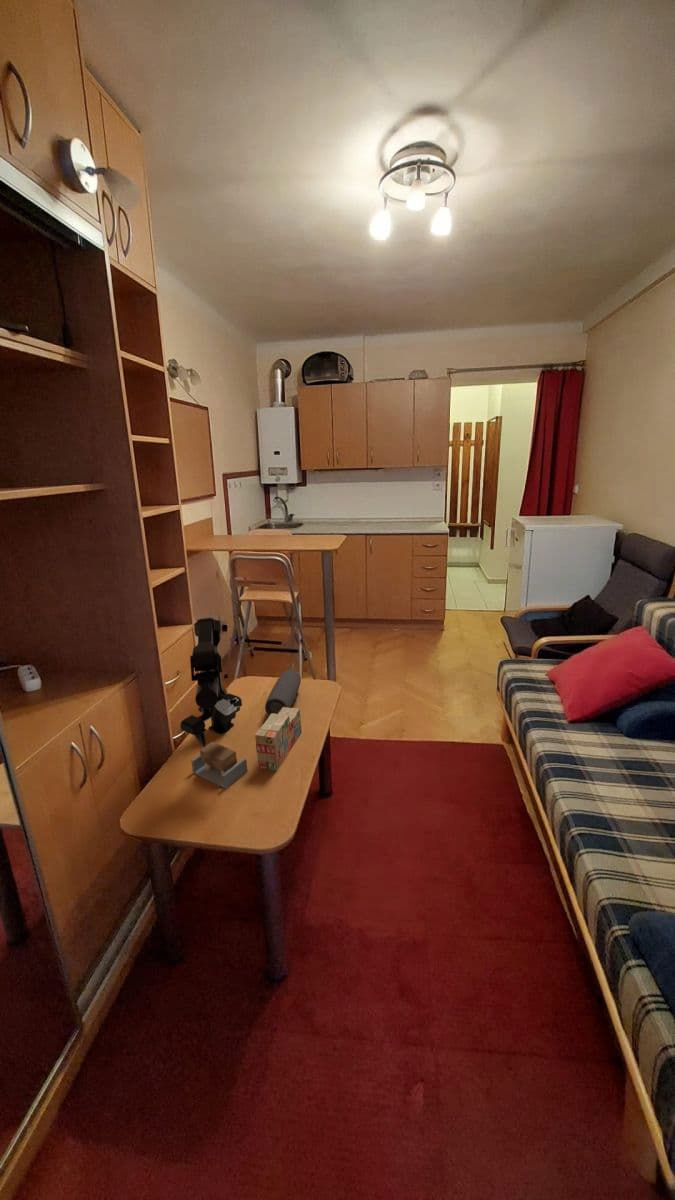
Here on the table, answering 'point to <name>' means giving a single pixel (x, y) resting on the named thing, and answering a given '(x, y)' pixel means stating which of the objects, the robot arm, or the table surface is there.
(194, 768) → the cradle
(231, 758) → the brown rectangular block
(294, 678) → the bluetooth speaker
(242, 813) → the table surface
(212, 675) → the robot arm
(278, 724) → the stack of blocks
